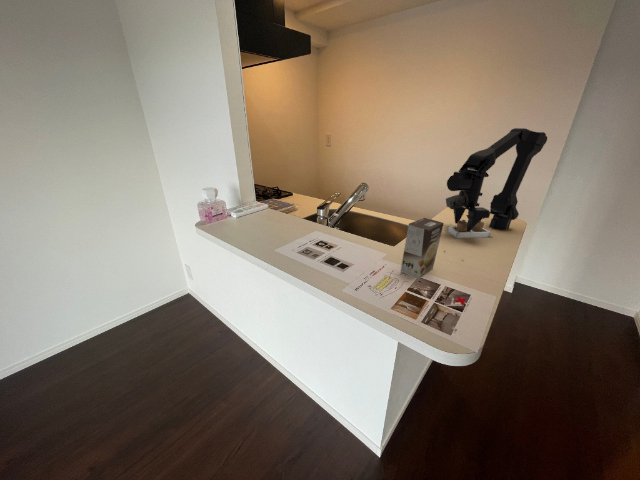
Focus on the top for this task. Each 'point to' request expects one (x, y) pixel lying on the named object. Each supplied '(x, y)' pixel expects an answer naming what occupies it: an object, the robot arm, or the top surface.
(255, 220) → the top surface
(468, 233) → the housing
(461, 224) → the brown cylinder
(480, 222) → the brown housed cylinder
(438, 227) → the coffee box
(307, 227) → the top surface
